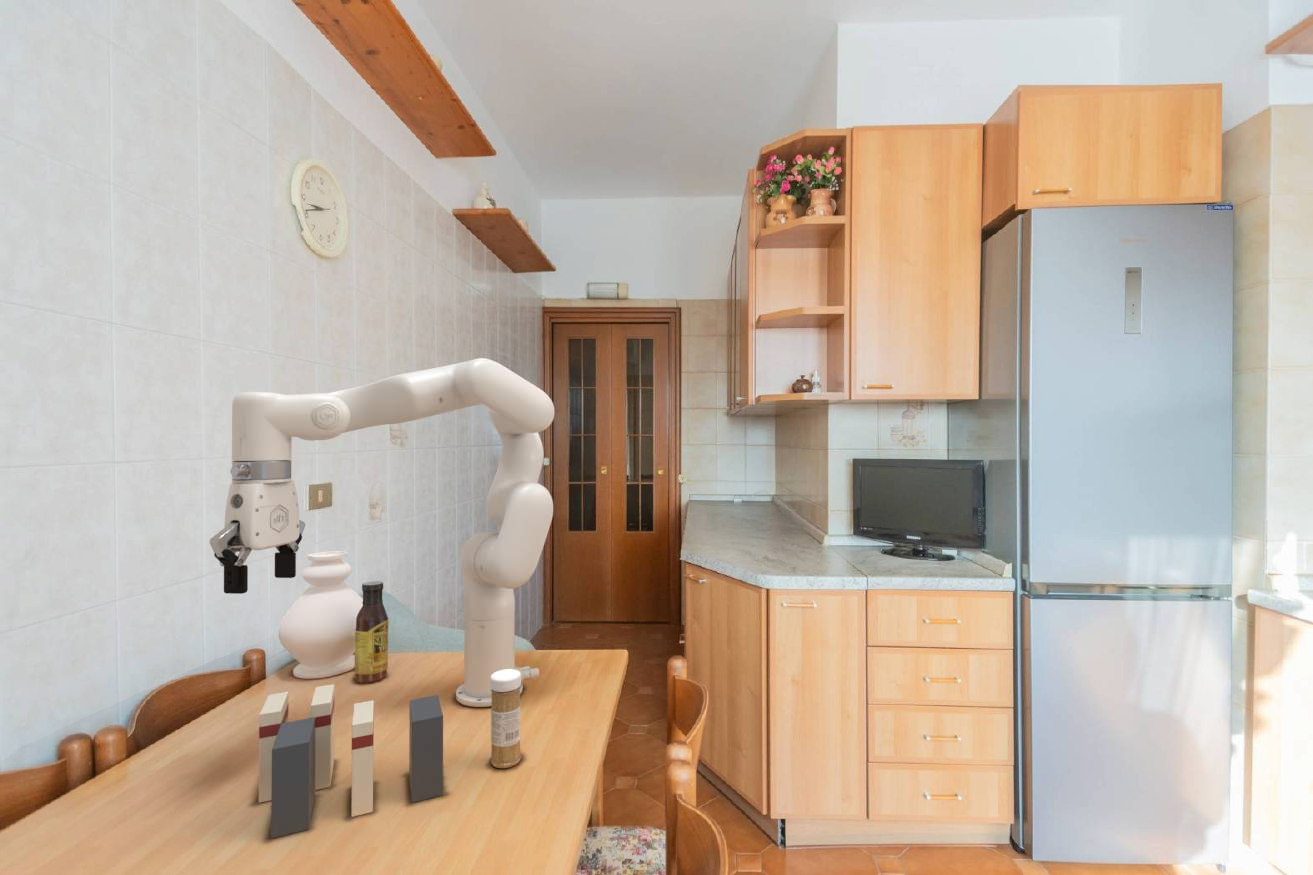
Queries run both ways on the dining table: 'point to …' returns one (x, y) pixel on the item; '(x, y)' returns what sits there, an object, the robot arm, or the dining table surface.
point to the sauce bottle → (371, 635)
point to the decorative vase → (323, 619)
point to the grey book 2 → (426, 748)
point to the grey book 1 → (293, 777)
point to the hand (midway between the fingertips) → (261, 584)
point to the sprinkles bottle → (505, 718)
